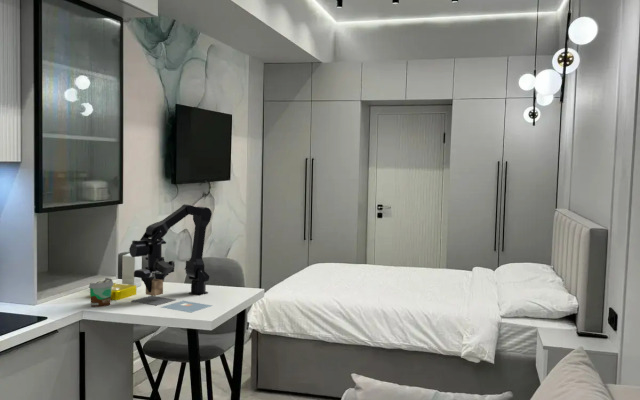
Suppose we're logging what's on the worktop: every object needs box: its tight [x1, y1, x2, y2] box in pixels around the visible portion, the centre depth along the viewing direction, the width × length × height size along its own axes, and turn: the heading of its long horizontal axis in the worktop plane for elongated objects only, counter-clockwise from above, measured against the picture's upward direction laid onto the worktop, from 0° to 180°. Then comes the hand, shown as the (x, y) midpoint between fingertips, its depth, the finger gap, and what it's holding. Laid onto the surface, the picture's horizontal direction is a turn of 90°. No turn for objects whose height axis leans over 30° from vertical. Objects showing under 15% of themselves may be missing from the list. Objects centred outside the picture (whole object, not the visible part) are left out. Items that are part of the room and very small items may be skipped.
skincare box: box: [121, 252, 143, 288], centre depth 278 cm, size 8×7×16 cm
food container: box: [88, 277, 114, 308], centre depth 242 cm, size 12×6×10 cm, turn 168°
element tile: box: [89, 282, 138, 301], centre depth 259 cm, size 15×15×5 cm
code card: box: [161, 300, 213, 313], centre depth 243 cm, size 14×16×1 cm
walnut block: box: [145, 278, 164, 296], centre depth 251 cm, size 5×5×6 cm
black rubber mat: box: [131, 295, 176, 307], centre depth 251 cm, size 12×14×1 cm
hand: (154, 291), depth 251 cm, fingers closed on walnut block, 5 cm apart
